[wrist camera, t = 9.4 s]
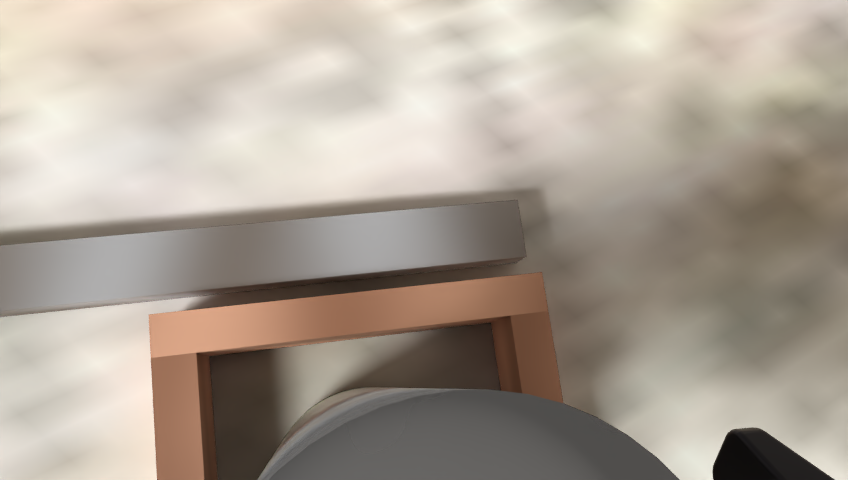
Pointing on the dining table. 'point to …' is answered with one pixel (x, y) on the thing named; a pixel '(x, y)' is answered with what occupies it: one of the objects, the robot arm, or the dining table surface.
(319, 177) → the dining table surface
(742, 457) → the robot arm
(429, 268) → the socket rail
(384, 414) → the grey peg
